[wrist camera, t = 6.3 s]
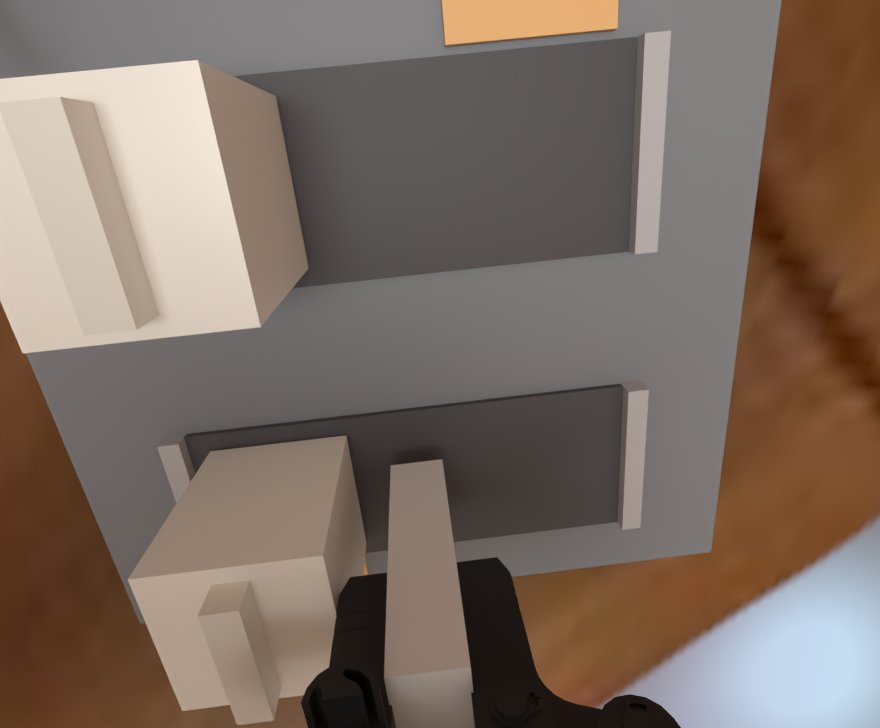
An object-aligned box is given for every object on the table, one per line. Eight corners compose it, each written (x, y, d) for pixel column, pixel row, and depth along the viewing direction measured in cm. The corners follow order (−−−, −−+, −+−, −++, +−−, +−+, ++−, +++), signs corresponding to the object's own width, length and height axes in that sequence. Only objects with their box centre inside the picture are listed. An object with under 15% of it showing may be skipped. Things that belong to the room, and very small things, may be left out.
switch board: (164, 580, 20) (131, 638, 17) (-48, 25, 13) (-149, -4, 11) (682, 515, 20) (720, 564, 18) (738, -48, 14) (810, -91, 11)
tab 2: (153, 285, 13) (-12, 371, 8) (100, 113, 12) (-146, 79, 7) (308, 267, 14) (248, 342, 8) (275, 96, 12) (175, 49, 7)
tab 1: (242, 558, 17) (168, 747, 11) (210, 450, 15) (107, 611, 10) (366, 542, 17) (350, 722, 12) (346, 435, 15) (317, 584, 10)
